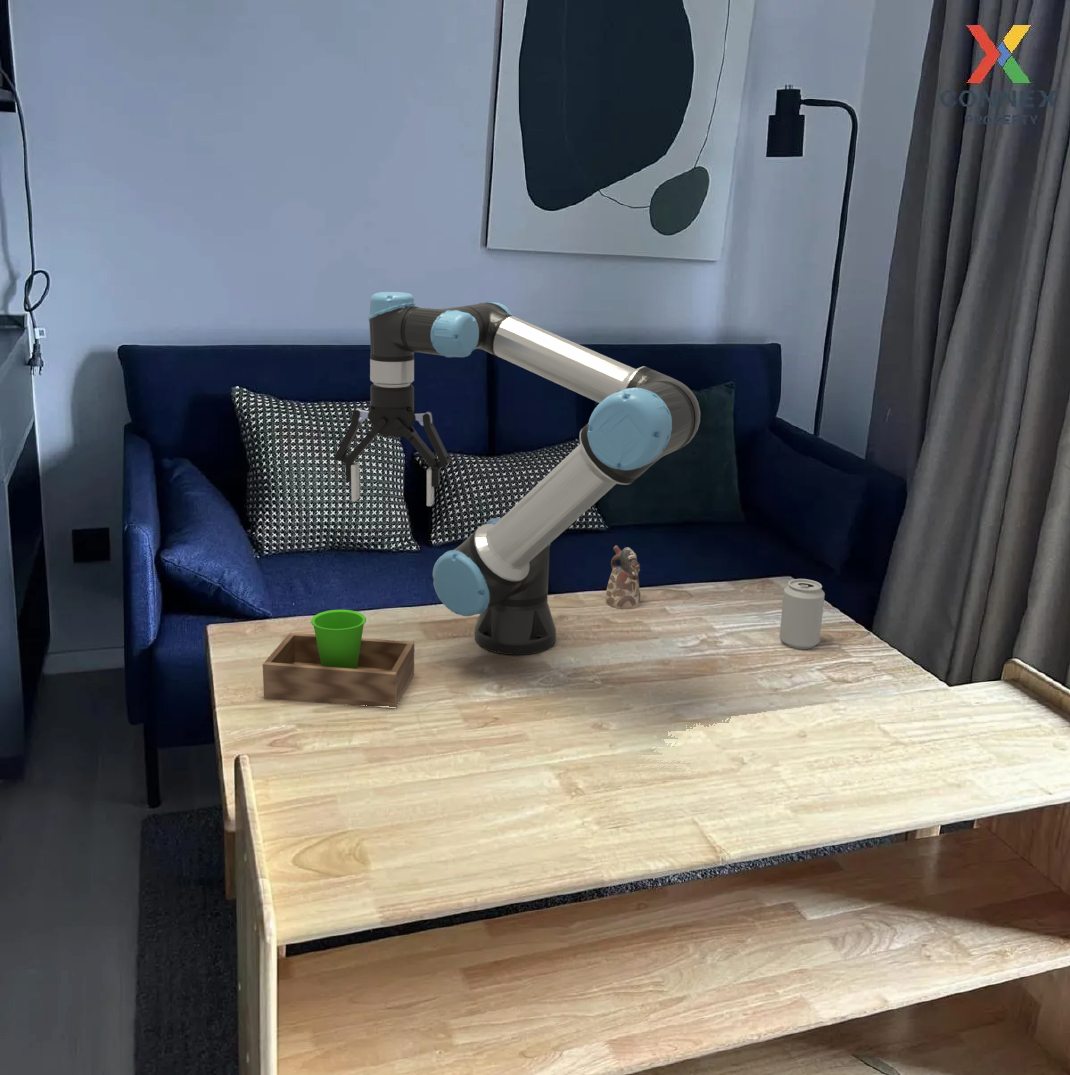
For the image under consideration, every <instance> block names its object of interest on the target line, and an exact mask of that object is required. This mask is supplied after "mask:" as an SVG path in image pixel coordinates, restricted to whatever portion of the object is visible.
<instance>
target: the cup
mask: <svg viewBox="0 0 1070 1075" xmlns="http://www.w3.org/2000/svg"><path fill="white" fill-rule="evenodd" d="M366 622H367V617H366V616H365V614H364V613H361V612H359V611H356V610H351V609H331V610H326V611H322V612H319V613H317V614H315V615H313V617H312V618H311V619H310V624H312V626H313V630H314V635H316V640H317V645H318V651H319V656H320V661H321V666H324V667H337V668H349V669H357V666H358V659H359V652H360V646H361V639H362V638H363V634H364V633H363V631H364V627H365V623H366Z"/></svg>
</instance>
